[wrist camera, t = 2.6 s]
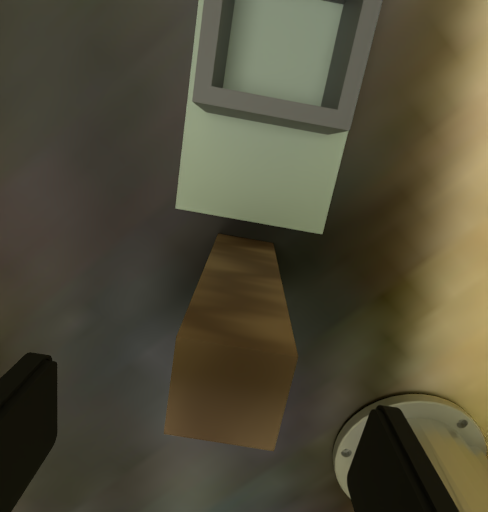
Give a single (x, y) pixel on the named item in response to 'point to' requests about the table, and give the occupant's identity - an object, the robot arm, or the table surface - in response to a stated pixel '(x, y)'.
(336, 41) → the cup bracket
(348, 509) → the table surface
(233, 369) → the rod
